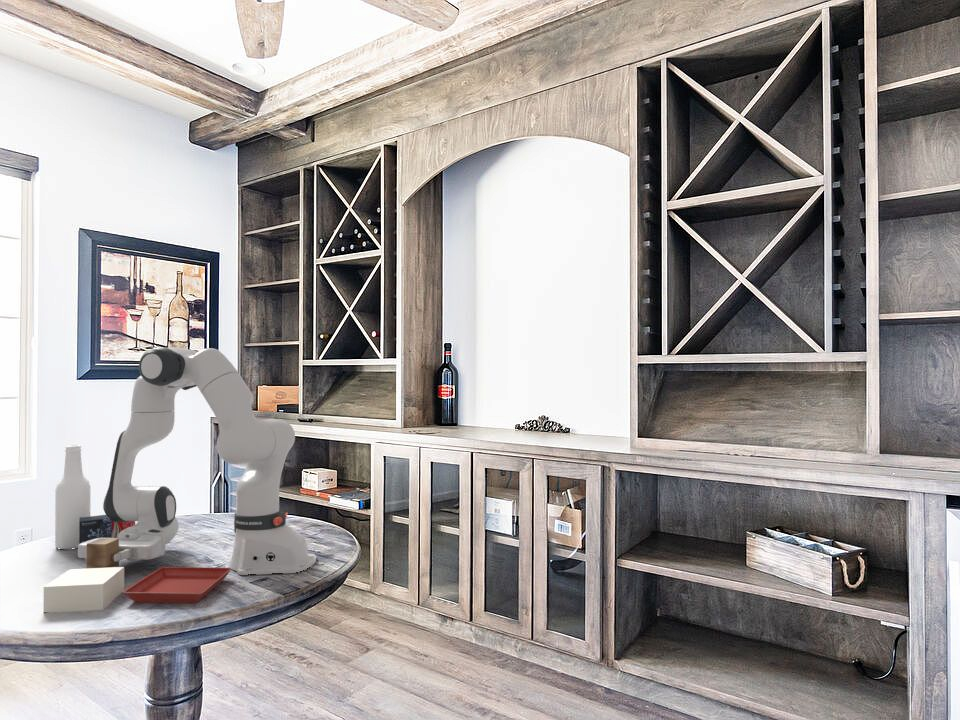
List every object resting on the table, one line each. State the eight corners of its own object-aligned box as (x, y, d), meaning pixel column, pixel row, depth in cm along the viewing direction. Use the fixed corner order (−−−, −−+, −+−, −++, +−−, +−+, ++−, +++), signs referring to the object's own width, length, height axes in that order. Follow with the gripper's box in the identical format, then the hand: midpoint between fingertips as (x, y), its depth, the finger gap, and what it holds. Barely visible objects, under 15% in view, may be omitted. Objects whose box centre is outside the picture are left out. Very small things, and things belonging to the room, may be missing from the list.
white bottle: (60, 543, 192) (61, 444, 192) (93, 540, 195) (94, 443, 195) (50, 551, 184) (51, 448, 184) (85, 549, 186) (85, 446, 186)
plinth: (124, 591, 152) (124, 566, 152) (102, 611, 141) (103, 584, 141) (69, 594, 151) (69, 569, 151) (43, 614, 139) (43, 586, 139)
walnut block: (118, 578, 161) (118, 538, 161) (105, 584, 156) (105, 544, 156) (100, 577, 162) (100, 538, 162) (86, 584, 157) (86, 543, 157)
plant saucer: (232, 579, 161) (232, 566, 161) (201, 607, 143) (201, 592, 143) (161, 579, 161) (161, 566, 161) (121, 607, 143) (121, 592, 143)
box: (79, 559, 177) (79, 521, 177) (78, 554, 181) (79, 517, 181) (111, 554, 181) (111, 517, 181) (110, 549, 186) (110, 513, 186)
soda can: (110, 537, 198) (110, 499, 198) (135, 535, 201) (135, 497, 201) (107, 543, 192) (107, 504, 192) (134, 541, 195) (134, 501, 195)
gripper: (98, 530, 173) (61, 544, 159) (170, 531, 171) (139, 546, 157) (98, 553, 173) (61, 569, 159) (170, 554, 171) (139, 571, 157)
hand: (100, 558), depth 158 cm, fingers closed on walnut block, 5 cm apart
